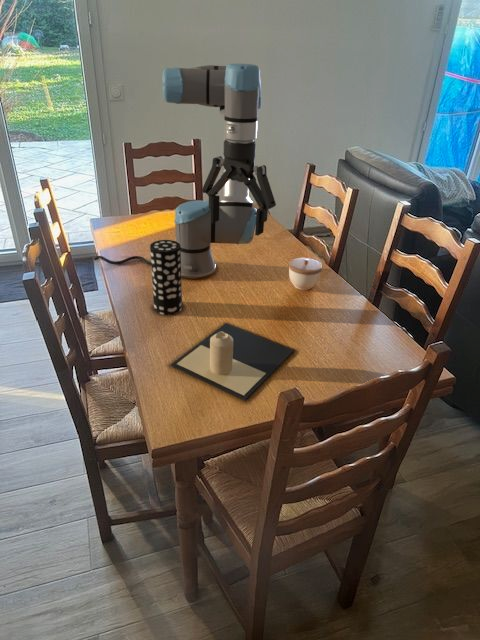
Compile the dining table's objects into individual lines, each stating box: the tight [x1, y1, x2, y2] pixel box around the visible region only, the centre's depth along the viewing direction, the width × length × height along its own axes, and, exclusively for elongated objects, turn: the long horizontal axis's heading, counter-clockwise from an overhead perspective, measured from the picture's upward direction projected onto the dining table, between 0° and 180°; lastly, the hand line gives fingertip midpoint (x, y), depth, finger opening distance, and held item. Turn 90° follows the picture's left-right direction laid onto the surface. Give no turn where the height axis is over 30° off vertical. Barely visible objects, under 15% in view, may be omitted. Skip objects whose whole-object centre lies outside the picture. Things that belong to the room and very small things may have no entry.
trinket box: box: [288, 257, 323, 291], centre depth 153 cm, size 11×11×9 cm
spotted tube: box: [149, 239, 183, 316], centre depth 135 cm, size 8×8×20 cm
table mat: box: [170, 322, 295, 402], centre depth 120 cm, size 22×24×1 cm
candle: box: [210, 331, 233, 375], centre depth 113 cm, size 6×6×10 cm
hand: (236, 227), depth 119 cm, fingers open, 13 cm apart
